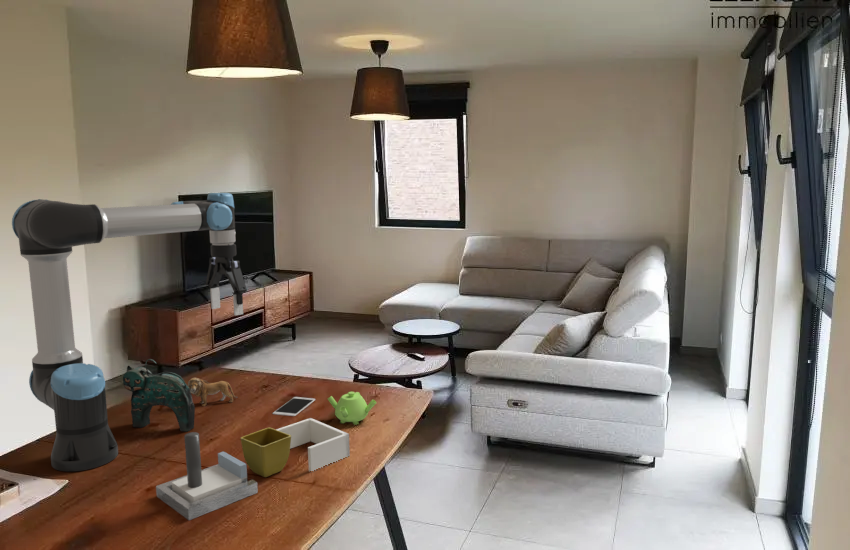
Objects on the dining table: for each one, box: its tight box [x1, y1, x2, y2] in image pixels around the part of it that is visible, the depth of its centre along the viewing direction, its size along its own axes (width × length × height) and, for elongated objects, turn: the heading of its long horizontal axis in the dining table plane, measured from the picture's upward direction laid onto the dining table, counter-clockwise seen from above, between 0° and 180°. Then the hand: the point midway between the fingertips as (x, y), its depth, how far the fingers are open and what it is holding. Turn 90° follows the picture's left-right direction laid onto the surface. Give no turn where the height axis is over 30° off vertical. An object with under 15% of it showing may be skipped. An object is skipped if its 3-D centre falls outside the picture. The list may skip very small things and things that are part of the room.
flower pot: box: [240, 426, 291, 478], centre depth 162 cm, size 9×9×9 cm
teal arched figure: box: [122, 358, 196, 433], centre depth 190 cm, size 20×6×20 cm, turn 76°
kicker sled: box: [172, 431, 248, 503], centre depth 151 cm, size 13×10×15 cm
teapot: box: [327, 391, 377, 426], centre depth 194 cm, size 11×12×8 cm
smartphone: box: [272, 396, 316, 417], centre depth 207 cm, size 8×1×15 cm
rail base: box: [155, 463, 259, 521], centre depth 152 cm, size 16×15×2 cm
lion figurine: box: [187, 377, 238, 407], centre depth 209 cm, size 15×5×9 cm, turn 118°
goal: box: [275, 417, 351, 472], centre depth 172 cm, size 12×16×6 cm
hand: (227, 311), depth 210 cm, fingers open, 13 cm apart
